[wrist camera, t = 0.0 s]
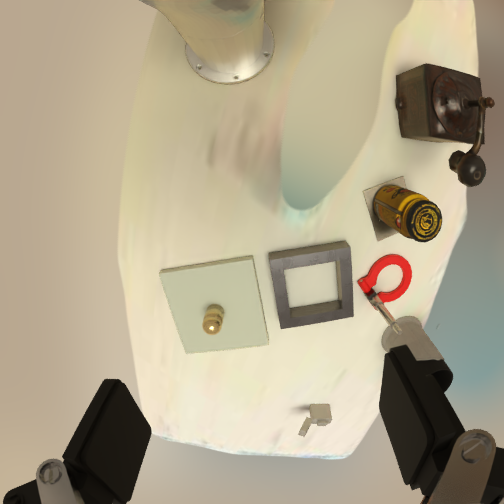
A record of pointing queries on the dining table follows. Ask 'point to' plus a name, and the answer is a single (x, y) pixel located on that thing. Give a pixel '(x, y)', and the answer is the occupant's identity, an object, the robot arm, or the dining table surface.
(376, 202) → the condiment
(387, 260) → the tow hook
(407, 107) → the manual coffee grinder
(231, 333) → the plate
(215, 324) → the post
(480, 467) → the robot arm
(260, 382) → the dining table surface
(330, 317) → the square metal frame
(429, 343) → the glass holder
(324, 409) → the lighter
